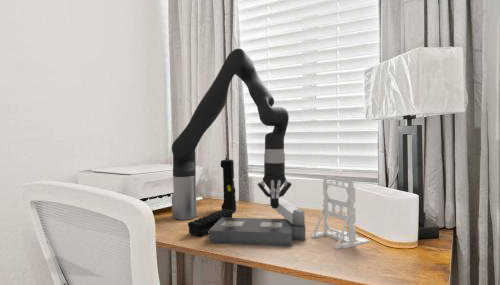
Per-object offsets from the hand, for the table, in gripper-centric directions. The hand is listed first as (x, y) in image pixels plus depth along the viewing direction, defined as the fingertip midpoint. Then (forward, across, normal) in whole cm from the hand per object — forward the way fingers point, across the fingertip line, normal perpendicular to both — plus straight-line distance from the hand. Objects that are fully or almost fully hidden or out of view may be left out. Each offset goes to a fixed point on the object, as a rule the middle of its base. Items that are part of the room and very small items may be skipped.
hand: (274, 207), depth 123 cm
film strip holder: (+6, -16, +20) cm, 27 cm away
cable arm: (+2, -4, +4) cm, 6 cm away
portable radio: (+7, +14, -26) cm, 30 cm away
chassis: (+7, +8, +12) cm, 16 cm away
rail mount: (+7, +23, -2) cm, 24 cm away
